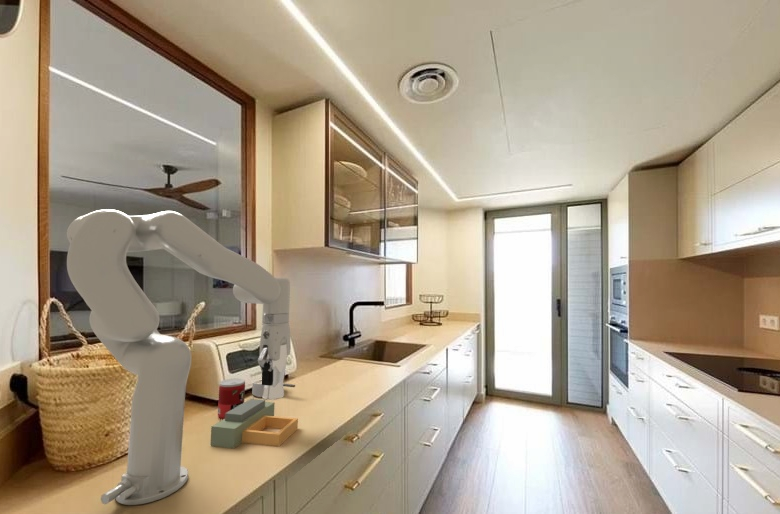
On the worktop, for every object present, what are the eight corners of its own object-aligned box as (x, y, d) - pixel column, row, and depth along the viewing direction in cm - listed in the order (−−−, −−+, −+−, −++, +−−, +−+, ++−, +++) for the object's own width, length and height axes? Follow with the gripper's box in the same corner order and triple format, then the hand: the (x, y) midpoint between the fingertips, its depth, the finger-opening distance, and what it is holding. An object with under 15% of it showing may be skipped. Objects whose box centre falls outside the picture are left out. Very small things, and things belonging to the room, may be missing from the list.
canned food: (233, 421, 103) (235, 385, 104) (211, 419, 105) (213, 383, 106) (248, 412, 111) (250, 379, 112) (228, 410, 112) (229, 377, 113)
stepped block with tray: (271, 452, 84) (272, 424, 85) (210, 445, 88) (211, 418, 88) (305, 421, 104) (306, 398, 104) (254, 416, 107) (255, 394, 108)
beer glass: (290, 395, 96) (292, 343, 97) (270, 402, 90) (272, 347, 92) (275, 390, 100) (277, 341, 101) (255, 397, 94) (257, 344, 95)
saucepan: (282, 405, 118) (282, 389, 118) (244, 396, 127) (245, 381, 127) (304, 396, 128) (304, 381, 128) (267, 388, 137) (268, 374, 138)
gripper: (271, 323, 88) (269, 392, 86) (300, 316, 105) (299, 374, 103) (246, 322, 89) (243, 390, 88) (279, 316, 106) (277, 372, 105)
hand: (273, 380), depth 95 cm, fingers closed on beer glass, 6 cm apart
